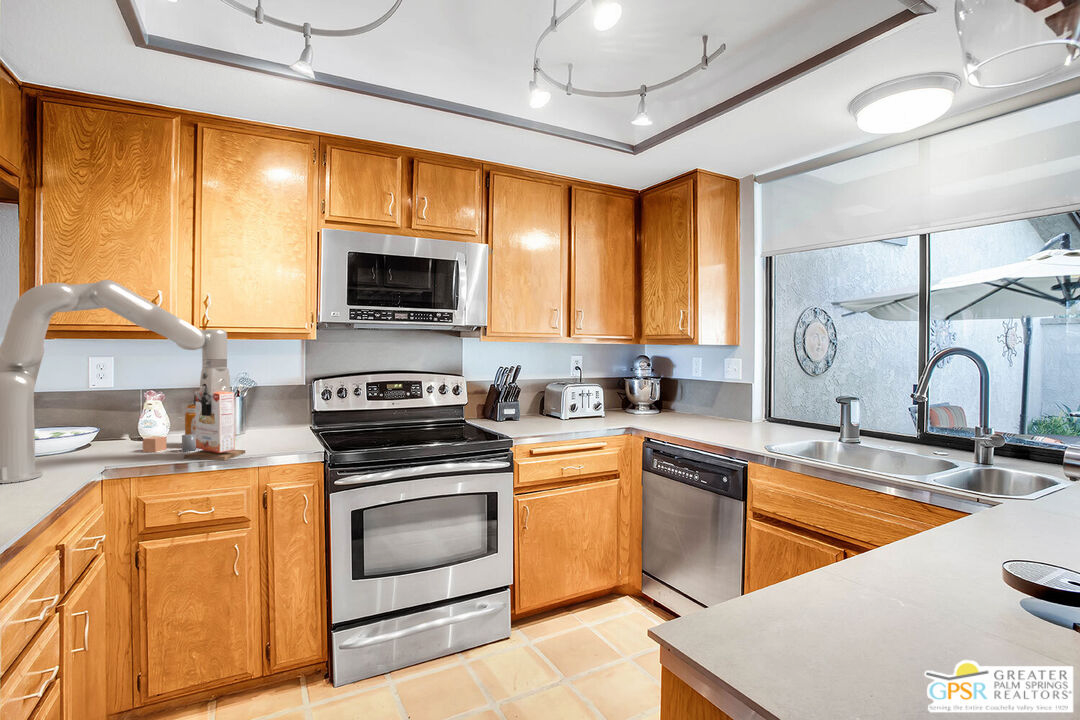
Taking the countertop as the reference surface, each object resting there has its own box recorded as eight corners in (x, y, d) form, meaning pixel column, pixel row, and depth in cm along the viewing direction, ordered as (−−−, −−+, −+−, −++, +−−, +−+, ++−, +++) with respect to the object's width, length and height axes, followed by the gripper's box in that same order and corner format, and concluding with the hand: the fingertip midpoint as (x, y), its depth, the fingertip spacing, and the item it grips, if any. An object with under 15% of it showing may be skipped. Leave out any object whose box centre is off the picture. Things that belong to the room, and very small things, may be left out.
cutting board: (224, 460, 186) (224, 456, 186) (184, 458, 188) (184, 455, 188) (245, 453, 197) (245, 450, 197) (207, 451, 199) (207, 448, 199)
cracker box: (194, 449, 193) (194, 390, 192) (211, 446, 198) (211, 389, 198) (218, 453, 187) (218, 393, 186) (235, 450, 192) (235, 391, 191)
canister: (186, 449, 203) (185, 396, 203) (184, 444, 212) (183, 393, 212) (213, 446, 209) (213, 394, 208) (210, 441, 218) (210, 392, 217)
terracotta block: (155, 452, 197) (155, 439, 197) (142, 452, 197) (142, 438, 197) (166, 450, 202) (166, 436, 202) (154, 449, 202) (154, 436, 202)
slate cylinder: (190, 452, 198) (190, 436, 198) (179, 452, 198) (178, 435, 198) (199, 450, 202) (198, 434, 202) (188, 449, 203) (187, 433, 202)
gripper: (207, 365, 182) (207, 417, 183) (240, 363, 200) (240, 411, 200) (186, 365, 183) (186, 417, 184) (221, 363, 200) (221, 410, 201)
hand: (214, 413), depth 192 cm, fingers closed on cracker box, 7 cm apart
